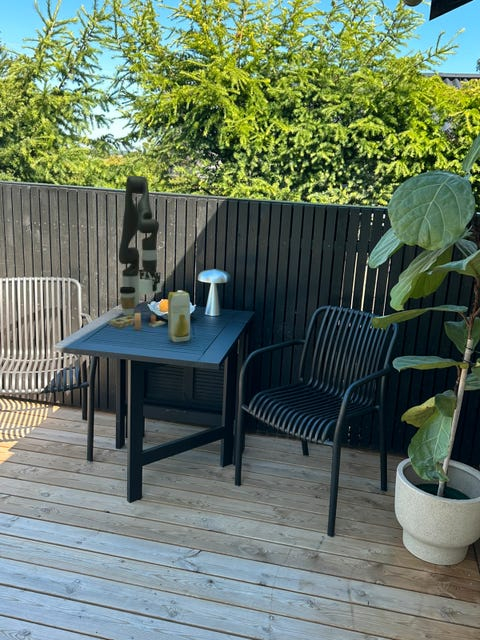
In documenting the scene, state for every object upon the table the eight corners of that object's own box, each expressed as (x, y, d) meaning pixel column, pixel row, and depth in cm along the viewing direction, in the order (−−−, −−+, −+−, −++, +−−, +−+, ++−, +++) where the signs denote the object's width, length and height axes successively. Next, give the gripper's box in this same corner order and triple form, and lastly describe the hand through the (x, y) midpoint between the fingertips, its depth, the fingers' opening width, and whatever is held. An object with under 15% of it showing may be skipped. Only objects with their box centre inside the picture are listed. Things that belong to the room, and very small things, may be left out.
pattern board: (148, 325, 295) (148, 315, 294) (160, 322, 301) (159, 312, 300) (154, 326, 293) (153, 317, 291) (165, 323, 299) (165, 314, 297)
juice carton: (172, 343, 267) (172, 292, 261) (167, 338, 274) (166, 289, 267) (191, 341, 271) (191, 291, 265) (185, 336, 278) (185, 287, 271)
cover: (139, 293, 299) (138, 279, 298) (153, 290, 307) (153, 277, 305) (147, 294, 296) (146, 281, 294) (161, 291, 303) (160, 278, 301)
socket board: (119, 328, 290) (119, 323, 289) (109, 325, 294) (109, 320, 294) (140, 322, 300) (140, 317, 299) (130, 319, 305) (130, 315, 304)
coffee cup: (118, 313, 318) (117, 286, 314) (134, 311, 322) (133, 285, 318) (122, 316, 311) (121, 289, 307) (138, 315, 314) (137, 288, 310)
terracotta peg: (133, 329, 288) (133, 313, 286) (138, 327, 290) (137, 312, 288) (137, 330, 286) (137, 314, 284) (142, 329, 289) (141, 313, 287)
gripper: (164, 259, 295) (165, 291, 300) (145, 256, 304) (146, 287, 308) (153, 260, 290) (154, 293, 294) (134, 257, 298) (135, 289, 303)
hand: (150, 290), depth 301 cm, fingers closed on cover, 6 cm apart
